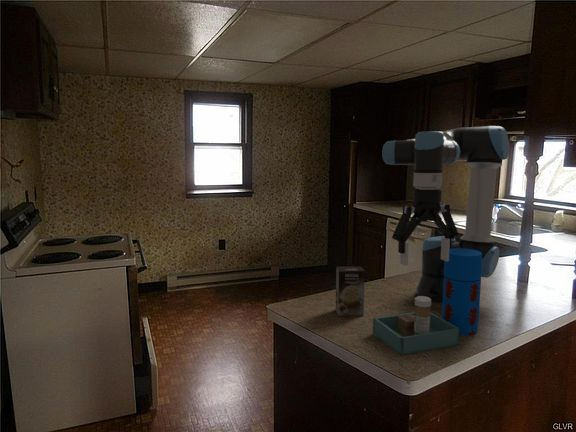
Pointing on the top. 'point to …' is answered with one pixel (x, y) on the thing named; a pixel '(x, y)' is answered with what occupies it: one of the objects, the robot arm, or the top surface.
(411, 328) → the walnut cube
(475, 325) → the thermos
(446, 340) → the tote
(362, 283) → the coffee box
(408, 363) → the top surface
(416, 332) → the sprinkles bottle
